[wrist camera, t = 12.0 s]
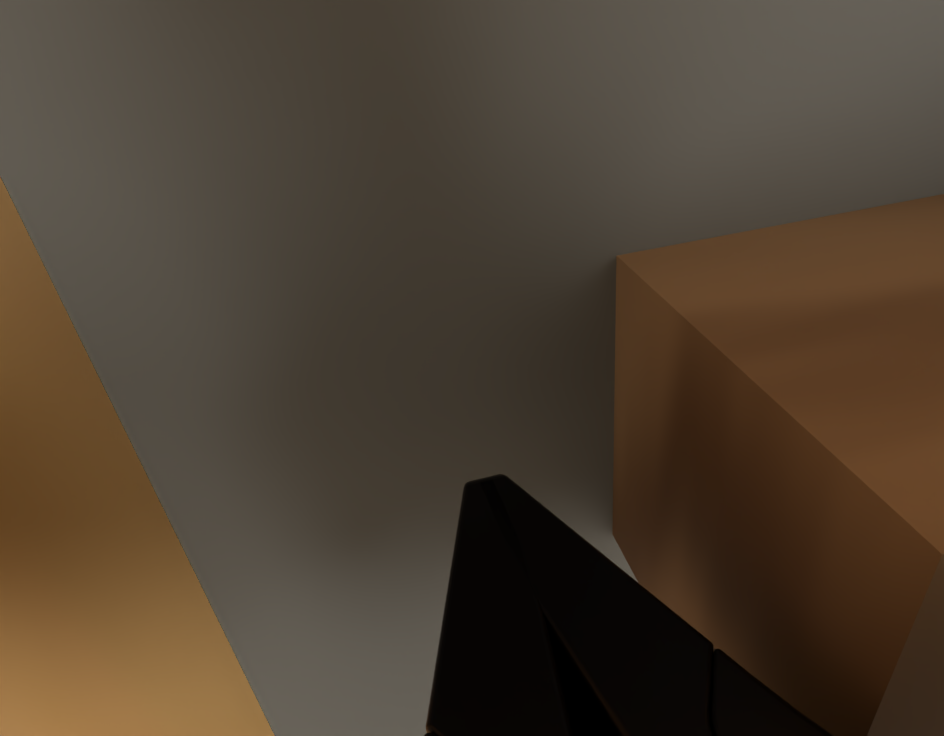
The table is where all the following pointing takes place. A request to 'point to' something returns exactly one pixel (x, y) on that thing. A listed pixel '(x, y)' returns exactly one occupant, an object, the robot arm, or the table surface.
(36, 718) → the table surface
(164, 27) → the board
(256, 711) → the table surface
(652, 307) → the tan rectangular box
